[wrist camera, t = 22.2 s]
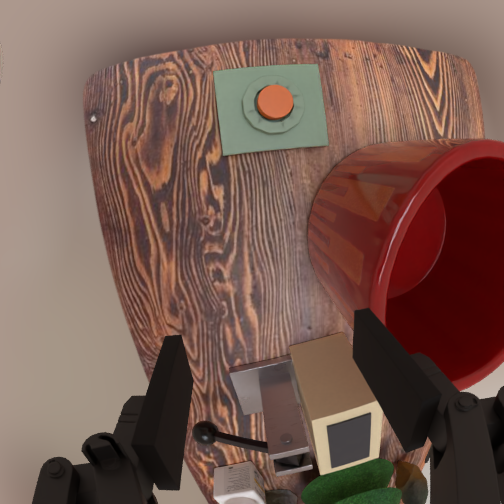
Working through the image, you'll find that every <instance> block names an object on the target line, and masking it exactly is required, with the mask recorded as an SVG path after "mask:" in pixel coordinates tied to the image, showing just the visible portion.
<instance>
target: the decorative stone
mask: <svg viewBox="0 0 504 504" xmlns="http://www.w3.org/2000/svg"><path fill="white" fill-rule="evenodd" d="M395 486H396V488H398V489H400V490H401V491H402V497H401V499H402V501H403V503H404V504H425V503H426V499H427V496H428V487H427V480H426V478H425V477H424V475H423V474H422V472H421V471H420V469H419V467H418V466H416V465H414V464H410V463H408V462H402V461H398V463H397V469H396V481H395Z"/></svg>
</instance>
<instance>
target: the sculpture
mask: <svg viewBox="0 0 504 504" xmlns="http://www.w3.org/2000/svg"><path fill="white" fill-rule="evenodd" d="M265 499H266V504H297V496H296V495H295V494H293V493H292V492H291V491H290V490H279V489H278V490H273V491H265Z"/></svg>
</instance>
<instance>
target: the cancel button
mask: <svg viewBox="0 0 504 504" xmlns="http://www.w3.org/2000/svg"><path fill="white" fill-rule="evenodd" d="M292 107H293V97H292V95H291V93H290V92H289V90H287V89H286V88H285V87H283V86H280V85H270V86H267V87H265V88H264V89H263V90H262V91H261V92H260V94H259V96H258V99H257V108H258V110H259V112H260V113H261V115H262V116H264V117H265V118H267V119H270V120H278V119H281V118H283V117H285V116H286V115H287V114H288V113H289V112H290V111H291V109H292Z"/></svg>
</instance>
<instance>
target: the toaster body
mask: <svg viewBox="0 0 504 504" xmlns="http://www.w3.org/2000/svg"><path fill="white" fill-rule="evenodd" d="M289 349H290V354H291V358H292V361H293V366H294V371H295V376H296V381H297V386H298V391H299V396H300V401H301V403H300V404H301V407H302V411H303V414H304V418H305V422H306V425H307V429H308V432H309V436H310V440H311V443H312V447H313V450H314V454H315V458H316V461H317V465H318V469H319V472H320V475H324V474H327V473H331V472H335V471H338V470H341V469H345V468H348V467H351V466H355V465H358V464H361V463H364V462H367V461H370V460H372V459H375V458H378V457H379V452H380V441H381V429H382V415H383V410H382V409H381V407H380V405H379V403H378V401H377V400H376V398H375V396H374V394H373V393H372V391H371V389H370V387H369V386H368V384H367V382H366V380H365V379H364V377H363V375H362V373H361V372H360V370H359V368H358V367H357V365H356V363H355V361H354V360H353V358H352V356H353V348H352V346H351V344H350V343H349V341H348V340H347V338H346V336H345V335H344V333H343V332H341V333H337V334H334V335H330V336H326V337H323V338H319V339H315V340H311V341H308V342H304V343H300V344H296V345H292V346H289Z"/></svg>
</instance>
